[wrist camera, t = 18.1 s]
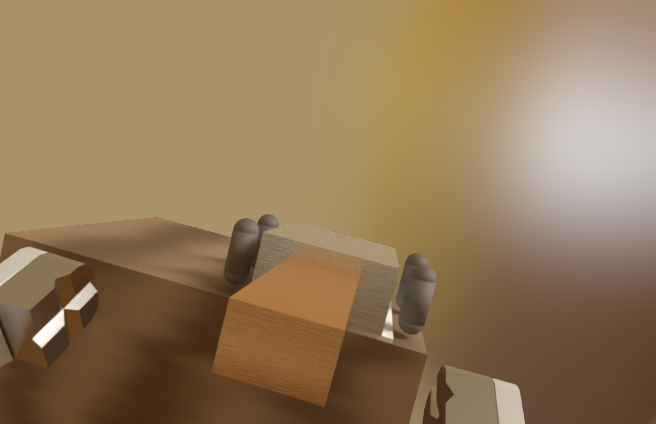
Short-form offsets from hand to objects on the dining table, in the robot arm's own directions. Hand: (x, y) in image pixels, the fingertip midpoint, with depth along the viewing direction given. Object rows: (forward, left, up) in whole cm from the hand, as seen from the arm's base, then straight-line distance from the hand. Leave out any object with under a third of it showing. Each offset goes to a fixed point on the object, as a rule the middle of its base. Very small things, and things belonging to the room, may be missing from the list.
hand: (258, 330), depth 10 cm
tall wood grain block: (+5, -16, -28) cm, 33 cm away
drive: (0, -9, -2) cm, 9 cm away
